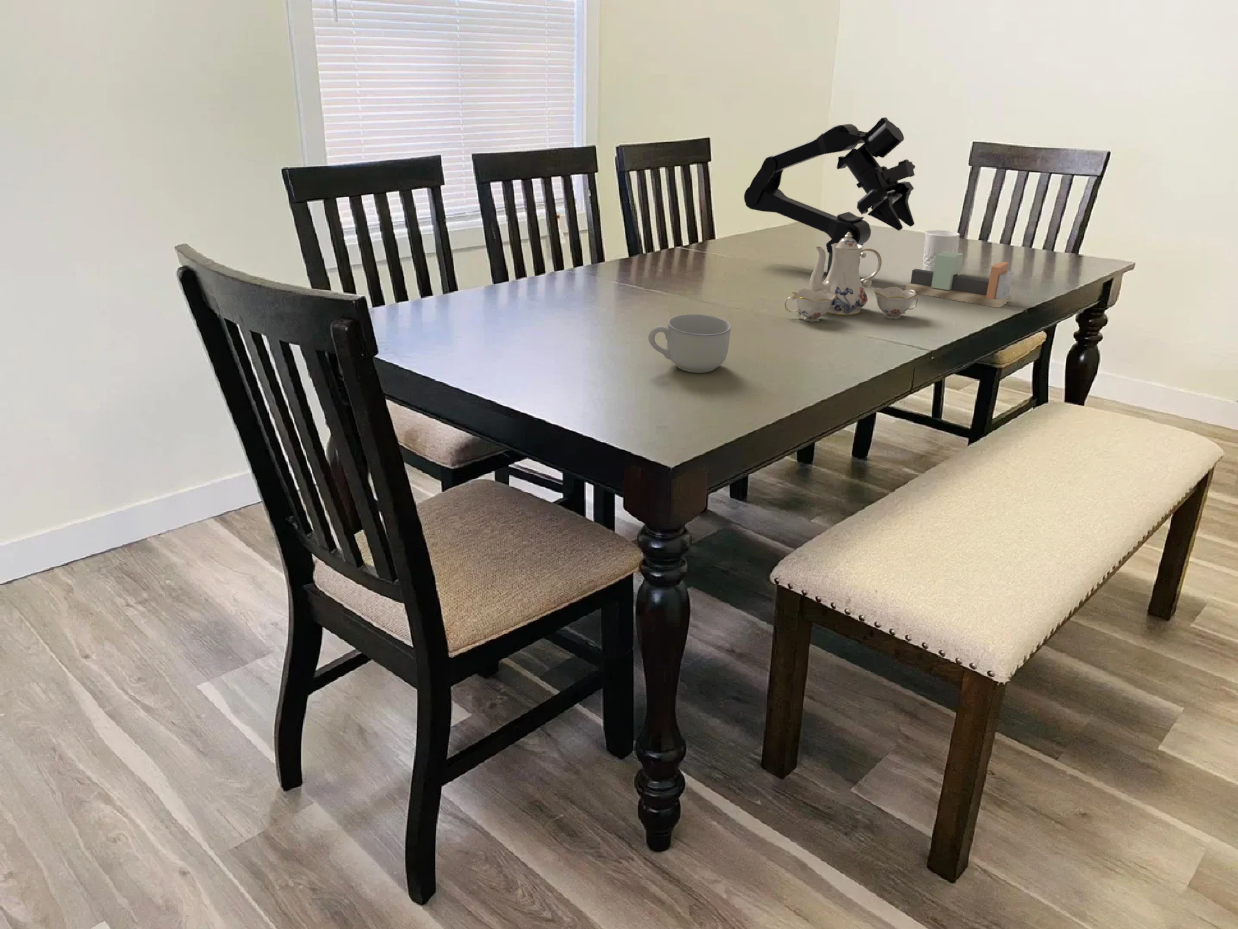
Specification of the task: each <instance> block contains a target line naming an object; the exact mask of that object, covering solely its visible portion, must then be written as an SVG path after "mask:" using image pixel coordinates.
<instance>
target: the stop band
mask: <svg viewBox="0 0 1238 929" xmlns="http://www.w3.org/2000/svg"><path fill="white" fill-rule="evenodd" d="M1009 264H1010V263H1009V262H1004V261H1000V262H998V263H995V264H994V265H992V266H991V268H990V274H989V279H988V280H989V284H988V289H987V295H986V298H988V299H995V296H996V291H997V286H998V280H999V275H1000V274H1002V273H1004V272H1006V271H1009V270H1008V269H1009Z"/></svg>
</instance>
